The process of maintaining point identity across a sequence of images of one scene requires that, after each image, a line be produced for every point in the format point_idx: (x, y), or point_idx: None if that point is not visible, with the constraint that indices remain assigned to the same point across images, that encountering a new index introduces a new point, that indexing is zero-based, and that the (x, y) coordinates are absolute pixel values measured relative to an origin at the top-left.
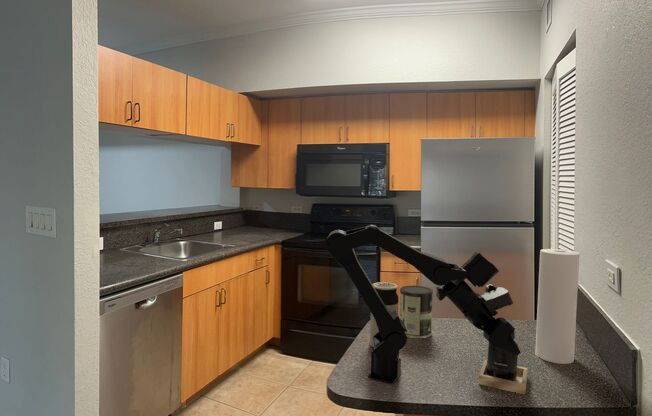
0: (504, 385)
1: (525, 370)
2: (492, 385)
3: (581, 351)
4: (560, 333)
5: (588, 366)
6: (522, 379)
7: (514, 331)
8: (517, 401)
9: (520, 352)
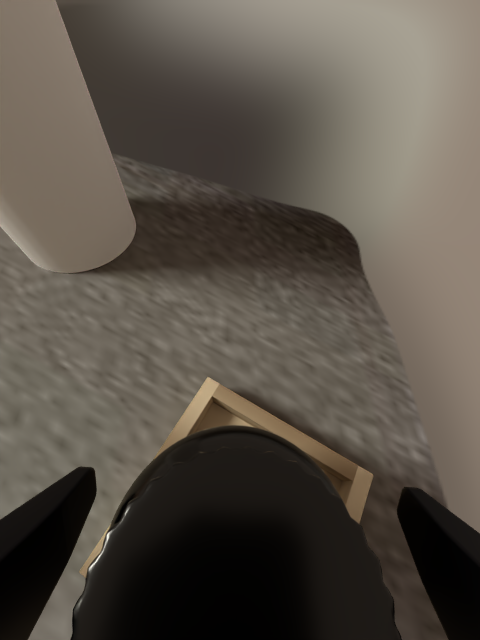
0: None
1: (227, 396)
2: None
3: None
4: (88, 146)
5: (160, 193)
6: (315, 457)
7: (300, 468)
8: None
9: (420, 491)
